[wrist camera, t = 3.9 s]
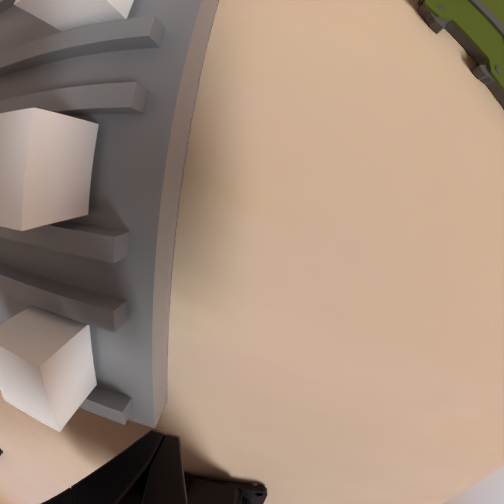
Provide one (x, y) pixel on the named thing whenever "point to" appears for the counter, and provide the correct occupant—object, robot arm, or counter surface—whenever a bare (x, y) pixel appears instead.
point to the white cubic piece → (46, 365)
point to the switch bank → (110, 186)
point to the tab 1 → (76, 11)
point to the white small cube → (44, 167)
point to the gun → (473, 34)
